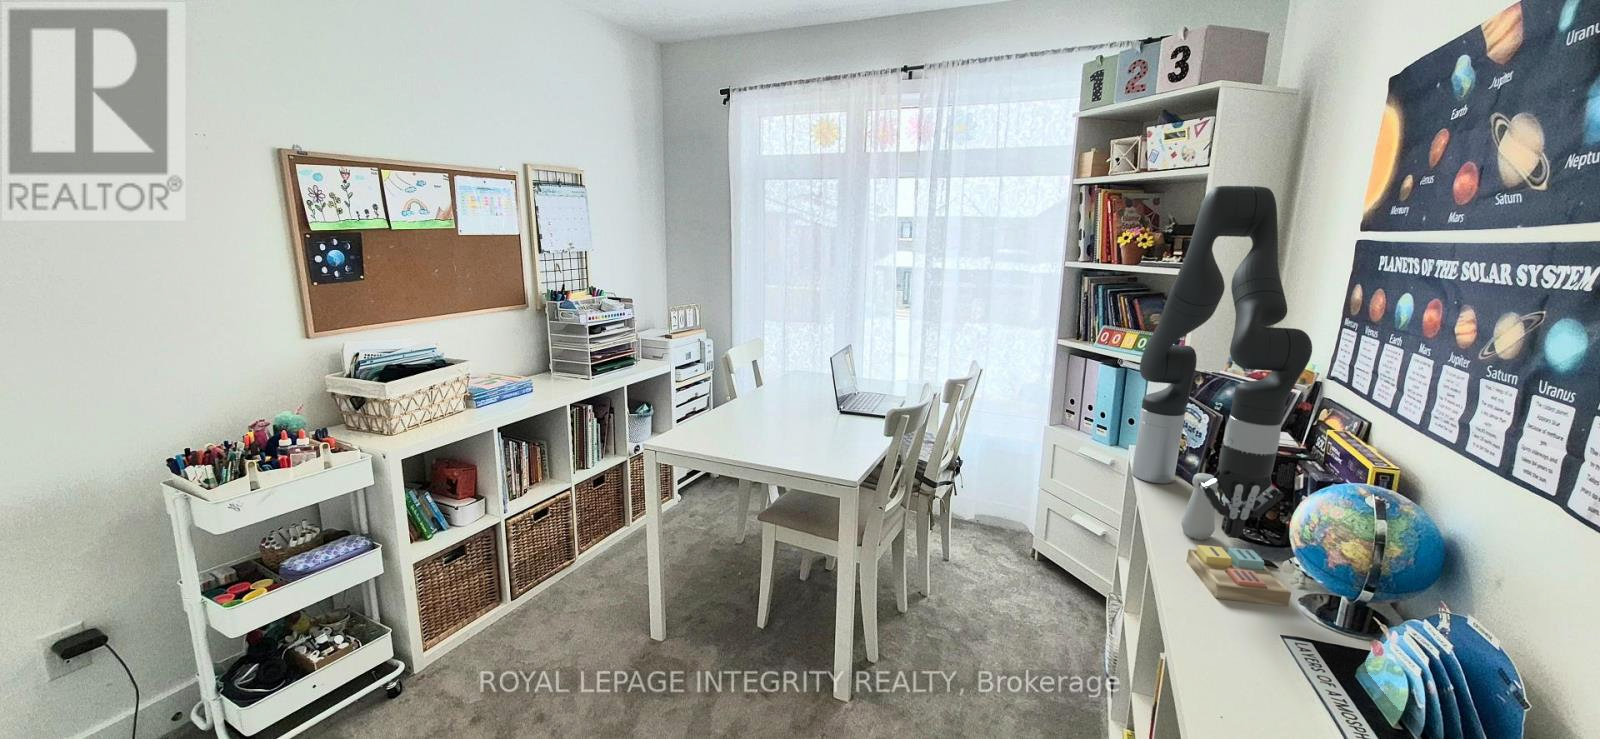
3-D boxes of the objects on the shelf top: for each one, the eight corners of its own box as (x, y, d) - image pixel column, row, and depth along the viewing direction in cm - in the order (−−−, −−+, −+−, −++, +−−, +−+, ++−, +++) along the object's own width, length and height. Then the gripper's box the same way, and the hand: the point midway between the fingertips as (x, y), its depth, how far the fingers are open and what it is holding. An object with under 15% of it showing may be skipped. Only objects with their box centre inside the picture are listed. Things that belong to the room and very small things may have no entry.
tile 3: (1225, 580, 109) (1227, 567, 109) (1250, 583, 109) (1253, 570, 108) (1236, 593, 106) (1239, 580, 105) (1262, 596, 105) (1265, 583, 104)
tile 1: (1195, 556, 115) (1197, 544, 115) (1218, 558, 115) (1221, 546, 114) (1204, 568, 112) (1207, 555, 111) (1229, 570, 111) (1232, 558, 110)
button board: (1186, 561, 117) (1188, 549, 116) (1251, 567, 115) (1254, 555, 114) (1215, 598, 105) (1218, 585, 105) (1288, 605, 104) (1291, 592, 103)
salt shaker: (1219, 540, 124) (1231, 480, 121) (1197, 544, 123) (1208, 483, 120) (1194, 526, 130) (1205, 468, 127) (1172, 530, 128) (1182, 471, 125)
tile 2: (1226, 559, 114) (1228, 547, 114) (1250, 561, 114) (1252, 549, 113) (1236, 571, 111) (1239, 558, 110) (1261, 573, 110) (1264, 561, 109)
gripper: (1280, 438, 108) (1260, 528, 112) (1197, 433, 110) (1181, 522, 115) (1307, 455, 101) (1284, 550, 105) (1217, 449, 103) (1199, 543, 107)
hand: (1230, 535), depth 110 cm, fingers closed
